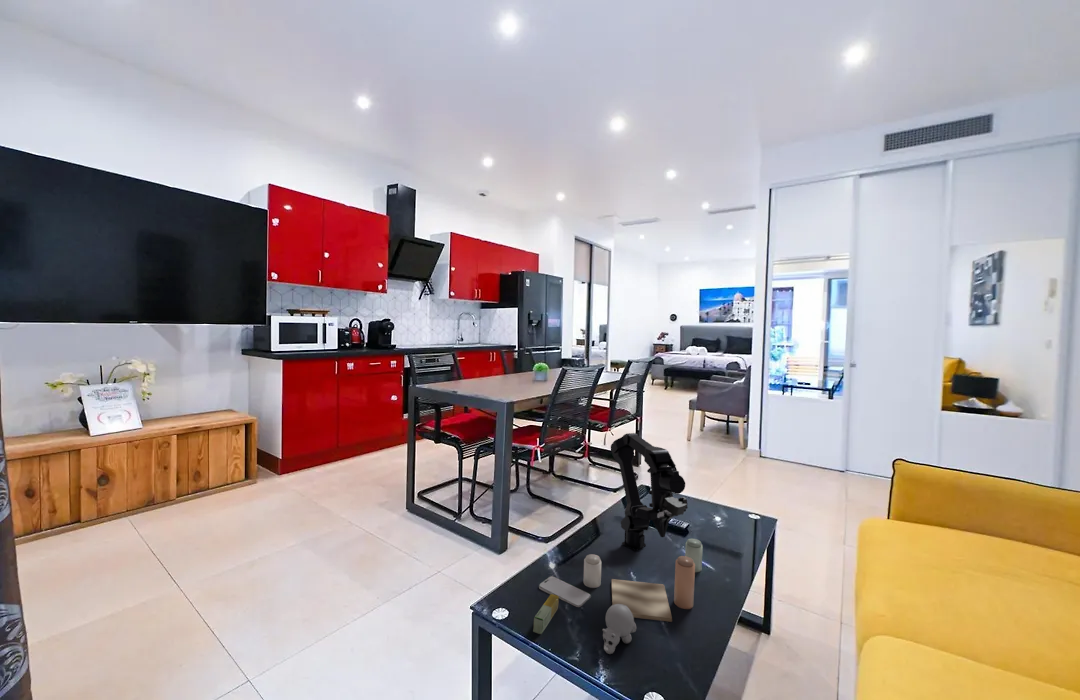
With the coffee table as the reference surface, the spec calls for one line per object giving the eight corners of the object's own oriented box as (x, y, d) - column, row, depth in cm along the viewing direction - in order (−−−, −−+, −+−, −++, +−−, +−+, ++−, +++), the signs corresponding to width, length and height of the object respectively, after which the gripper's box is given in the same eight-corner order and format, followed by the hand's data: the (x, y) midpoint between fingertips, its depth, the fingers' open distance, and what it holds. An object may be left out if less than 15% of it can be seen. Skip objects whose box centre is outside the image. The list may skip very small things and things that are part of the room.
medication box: (541, 635, 113) (542, 620, 113) (532, 632, 114) (533, 617, 114) (558, 609, 124) (559, 595, 124) (549, 606, 125) (550, 592, 125)
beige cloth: (611, 582, 137) (611, 579, 137) (663, 587, 135) (663, 584, 135) (612, 614, 121) (612, 611, 121) (671, 621, 119) (672, 618, 119)
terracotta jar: (670, 602, 128) (672, 559, 127) (680, 595, 131) (681, 553, 131) (687, 611, 124) (689, 567, 123) (696, 603, 127) (698, 560, 127)
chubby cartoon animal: (594, 655, 110) (588, 631, 107) (617, 615, 118) (611, 593, 115) (620, 669, 105) (614, 645, 102) (641, 627, 114) (636, 603, 111)
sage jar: (681, 567, 147) (682, 541, 147) (689, 561, 151) (690, 536, 150) (696, 574, 143) (697, 547, 143) (704, 568, 147) (705, 542, 146)
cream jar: (579, 582, 137) (580, 557, 137) (591, 575, 141) (592, 551, 140) (592, 590, 133) (593, 564, 133) (604, 583, 137) (605, 558, 136)
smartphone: (579, 606, 124) (537, 585, 133) (578, 610, 124) (537, 589, 133) (592, 594, 130) (551, 575, 139) (591, 598, 130) (551, 578, 139)
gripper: (660, 496, 133) (663, 549, 131) (698, 487, 144) (701, 537, 142) (633, 490, 142) (635, 540, 141) (670, 483, 153) (673, 529, 151)
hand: (662, 536), depth 143 cm, fingers closed
